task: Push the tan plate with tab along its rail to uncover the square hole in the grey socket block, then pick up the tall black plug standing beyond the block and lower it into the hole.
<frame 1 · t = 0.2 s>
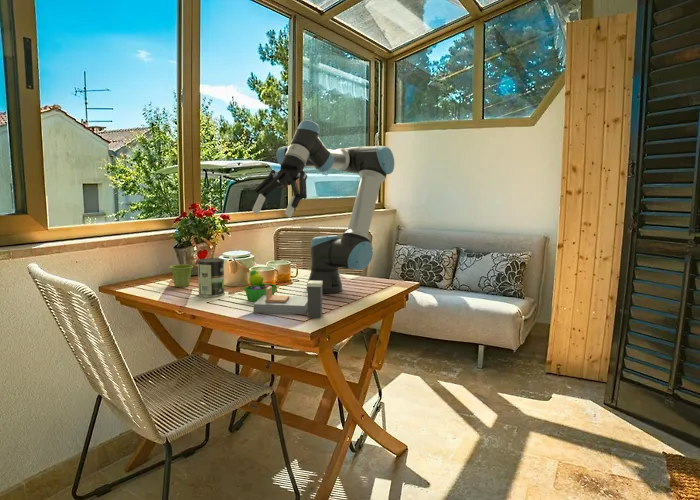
hand: (270, 214, 161), 35 cm above the table, tool tilted 35°, fingers open, 13 cm apart
plant pot: (182, 286, 216), on the table
fruit basket: (259, 299, 194), on the table
tan plate with tab: (277, 293, 180), point 5 cm above the table, slide at 0.0 cm
plug: (315, 316, 171), on the table
socket: (277, 308, 181), on the table
coffee can: (211, 295, 201), on the table
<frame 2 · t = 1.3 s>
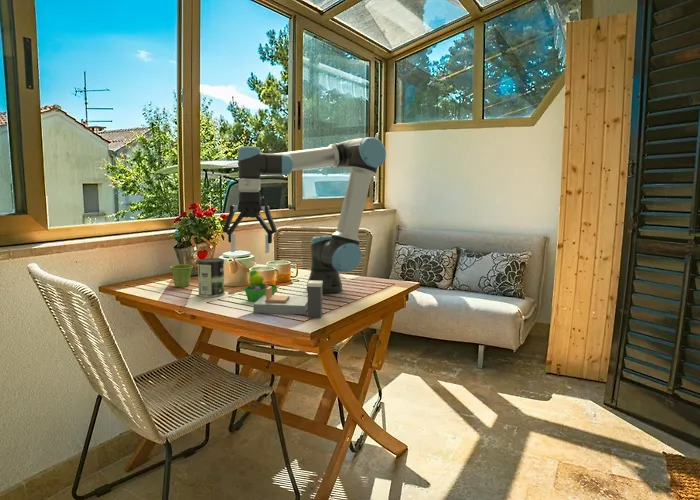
hand: (250, 252, 179), 20 cm above the table, tool pointing down, fingers open, 12 cm apart
nothing on the table moved.
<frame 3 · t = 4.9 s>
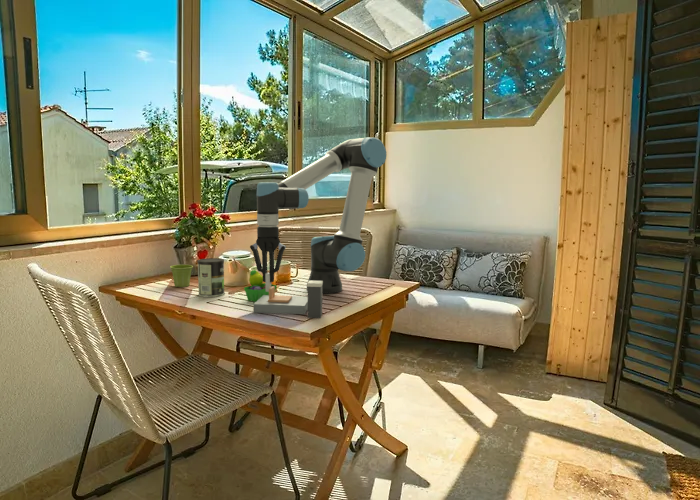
hand: (268, 290, 180), 6 cm above the table, tool pointing down, fingers closed
tan plate with tab: (280, 293, 180), point 5 cm above the table, slide at 1.0 cm, touching gripper
everything else where it was.
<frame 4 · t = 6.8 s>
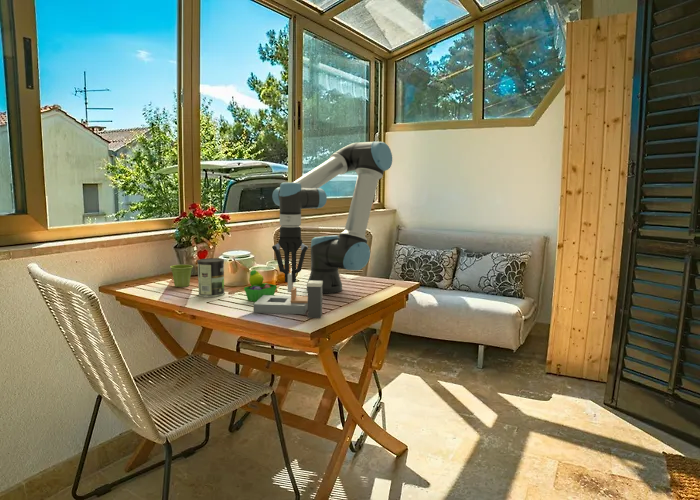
hand: (290, 291, 180), 6 cm above the table, tool pointing down, fingers closed
tan plate with tab: (302, 294, 179), point 5 cm above the table, slide at 9.1 cm, touching gripper
everything else where it was.
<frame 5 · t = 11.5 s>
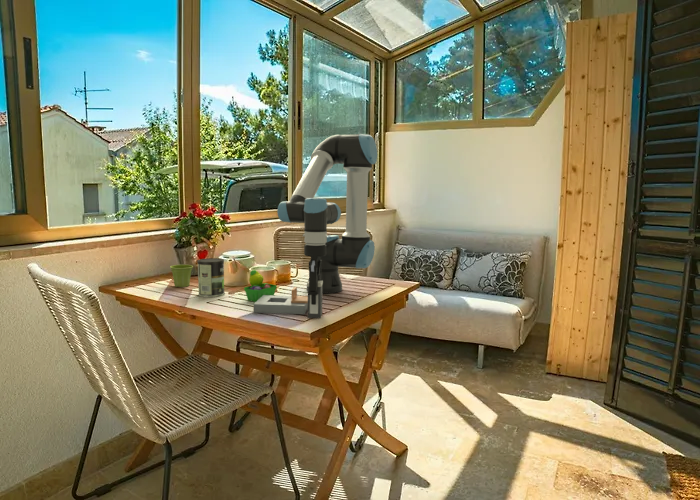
hand: (315, 311, 171), 2 cm above the table, tool pointing down, fingers closed on plug, 4 cm apart
tan plate with tab: (302, 294, 179), point 5 cm above the table, slide at 9.2 cm
plug: (315, 316, 171), on the table, touching gripper
everything else where it was.
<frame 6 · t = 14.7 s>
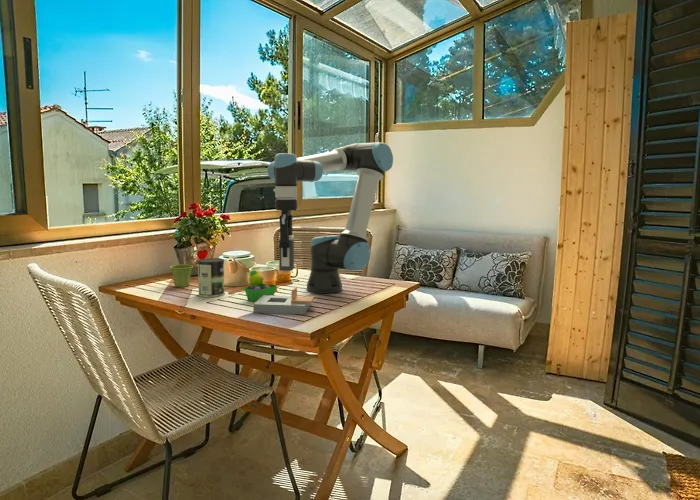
hand: (286, 264, 176), 16 cm above the table, tool pointing down, fingers closed on plug, 4 cm apart
plug: (286, 269, 177), point 15 cm above the table, touching gripper
everything else where it was.
when the fingers open (4 cm above the table, at t = 18.3 s): plug drops 2 cm, resting in socket.
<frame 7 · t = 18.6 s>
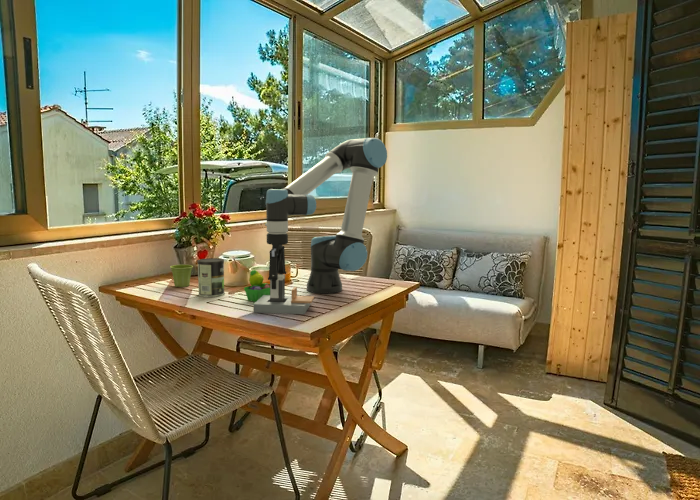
hand: (277, 294, 180), 5 cm above the table, tool pointing down, fingers open, 9 cm apart
plug: (277, 308, 181), resting in socket
everything else where it was.
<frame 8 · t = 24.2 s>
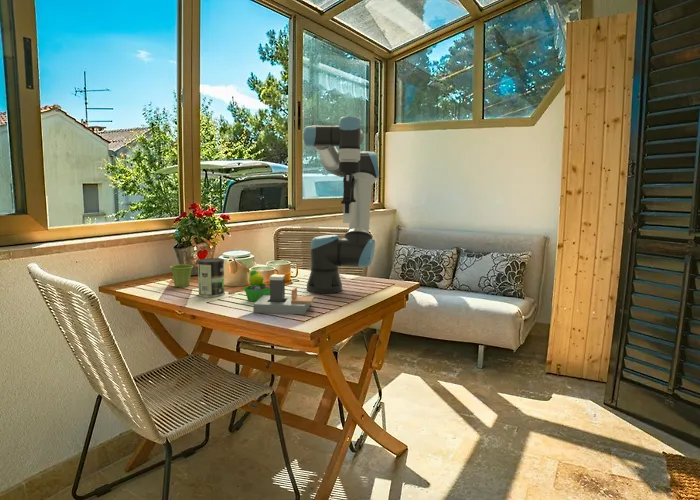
hand: (348, 221, 180), 32 cm above the table, tool pointing down, fingers open, 13 cm apart
nothing on the table moved.
at the end: plug 0.0 cm from the socket (horizontally); plug resting in socket; tan plate with tab slide at 9.2 cm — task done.
